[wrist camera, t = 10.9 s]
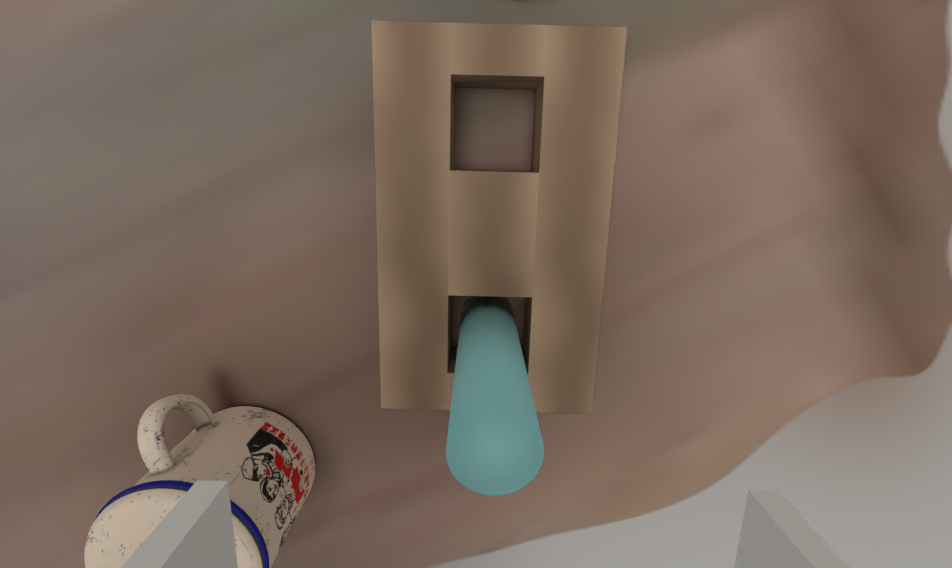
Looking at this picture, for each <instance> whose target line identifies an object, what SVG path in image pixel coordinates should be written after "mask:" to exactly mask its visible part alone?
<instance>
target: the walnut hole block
mask: <svg viewBox="0 0 952 568" xmlns="http://www.w3.org/2000/svg"><path fill="white" fill-rule="evenodd" d="M371 24H372V65H373V105H374V146H375V187H376V228H377V268H378V309H379V350H380V390H381V408H385V409H424V410H450V409H451V400H452V391H453V383H454V374H455V365H456V357H457V348H458V347H451V344H452V295H454V296H493V297H525V301H524V321H523V341H522V354H523V358H524V362H525V366H526V371H527V375H528V379H529V384H530V388H531V392H532V396H533V401H534V405H535V409H536V412H538V413H577V414H592V411H593V400H594V389H595V378H596V367H597V356H598V345H599V334H600V323H601V312H602V301H603V290H604V279H605V267H606V256H607V245H608V234H609V223H610V212H611V201H612V190H613V179H614V168H615V157H616V146H617V135H618V124H619V113H620V102H621V90H622V79H623V68H624V57H625V46H626V35H627V27H605V26H565V25H524V24H484V23H444V22H404V21H371ZM455 87H462V88H502V89H535V103H534V122H533V142H532V162H531V172H522V171H482V170H454V118H455Z"/></svg>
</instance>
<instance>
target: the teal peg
mask: <svg viewBox="0 0 952 568" xmlns="http://www.w3.org/2000/svg"><path fill="white" fill-rule="evenodd" d="M446 459H447V464H448V466H449V469H450V471H451V473H452V474H453V476H454V477H455V478H456V479H457V480H458V481H459V482H460V483H461V484H462V485H463V486H465V487H466V488H468V489H470V490H472V491H474V492H477V493H480V494H484V495H492V496H497V495H506V494H510V493H513V492H515V491H518V490H520V489H522V488H523V487H525V486H526V485H528V484H529V483H530V482H531V481H532V480H533V479H534V478H535V477H536V475H537V474H538V472H539V470H540V468H541V466H542V463H543V459H544V444H543V439H542V435H541V431H540V426H539V422H538V418H537V414H536V409H535V405H534V401H533V396H532V392H531V388H530V384H529V379H528V375H527V371H526V366H525V362H524V358H523V354H522V349H521V345H520V341H519V336H518V332H517V328H516V323H515V319H514V315H513V311H512V307H511V304H510V302H509V301H508V299H507V298H506V297H493V296H470V297H469V298H468V299H467V300H466V301H465V303H464V305H463V308H462V314H461V322H460V331H459V340H458V348H457V357H456V365H455V374H454V383H453V391H452V400H451V409H450V417H449V426H448V435H447V443H446Z"/></svg>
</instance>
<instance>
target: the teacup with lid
mask: <svg viewBox="0 0 952 568" xmlns="http://www.w3.org/2000/svg"><path fill="white" fill-rule="evenodd" d="M173 408H174V409H178V410H180V411H182V412H184V413H185V414H186V415H187V416H188V417H189V419H190V420H191V422H192V424H193V425H194V427H195V429H194V430H193V431H192V432H191V433H190V434H189V435H187V436H186V437H185V438H184V439H183V440H182V441H181V442H180V443H179V444H178V445H177V446H176V447H174V448H173V449H172V450H171V451H170V452H169V450H168V448H167V446H166V443H165V439H164V422H165V419H166V416H167V415H168V413H169V412H170V411H171V410H172V409H173ZM137 441H138V447H139V451H140V454H141V456H142V459H143V461H144V463H145V465H146V466H147V468H148V470H149V471H148V472H147V473H146V474H145V475H144V476H143V477H142V478H141V479H140V480H139V481H138V482H137V483H135V484H134V485H133V486H132V487H130V488H128V489H126V490H124V491H122V492H121V493H119V494H118V495H116V496H115V497H113V498H112V499H111V500H110V501H109V502H108V503H107V504H106V505H105V506H104V507H103V508H102V509H101V510H100V512H99V513H98V515H97V516H96V518H95V520H94V522H93V524H92V526H91V528H90V530H89V533H88V536H87V540H86V544H85V552H84V559H85V567H86V568H121V567H122V566H123V565H124V564H125V562H126V561H127V560H128V559H129V558H130V557H131V556H132V554H133V553H134V552H135V551H136V550H137V549H138V548H139V546H140V545H141V544H142V543H143V542H144V541H145V539H146V538H147V537H148V536H149V535H150V534H151V533H152V531H153V530H154V529H155V528H156V527H157V526H158V525H159V523H160V522H161V521H162V520H163V519H164V518H165V517H166V515H167V514H168V513H169V512H170V511H171V510H172V509H173V507H174V506H175V505H176V504H177V503H178V502H179V501H180V499H181V498H182V497H183V496H184V495H185V494H186V493H187V491H188V490H189V489H190V488H191V487H192V486H193V485H194V483H195V482H196V481H197V480H203V481H228V486H229V495H230V504H231V513H232V522H233V531H234V539H235V548H236V557H237V566H238V568H271V566H272V564H273V562H274V560H275V558H276V556H277V554H278V552H279V550H280V549H281V547H282V545H283V543H284V541H285V539H286V537H287V535H288V533H289V531H290V529H291V527H292V525H293V524H294V522H295V520H296V518H297V516H298V514H299V512H300V510H301V508H302V506H303V504H304V502H305V500H306V499H307V497H308V495H309V493H310V491H311V489H312V486H313V483H314V479H315V459H314V455H313V451H312V449H311V446H310V444H309V442H308V441H307V439H306V437H305V436H304V435H303V433H302V432H301V431H300V430H299V429H298V428H297V427H296V426H295V425H294V424H293V423H292V422H290V421H289V420H288V419H286V418H284V417H283V416H281V415H279V414H277V413H275V412H273V411H270V410H267V409H263V408H259V407H251V406H239V407H232V408H227V409H224V410H221V411H219V412H216V413H214V414H212V412H211V410H210V409H209V407H208V406H207V405H206V404H205V403H204V402H203V401H202V400H201V399H199V398H198V397H196V396H193V395H189V394H176V395H171V396H168V397H164V398H162V399H159V400H157V401H156V402H154V403H153V404H151V405H150V406H149V407H148V408H147V409H146V410H145V412H144V413H143V415H142V417H141V419H140V422H139V425H138V432H137Z"/></svg>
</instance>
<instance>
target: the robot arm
mask: <svg viewBox="0 0 952 568" xmlns="http://www.w3.org/2000/svg"><path fill="white" fill-rule="evenodd" d="M121 568H238V566H237V557H236V548H235V539H234V531H233V522H232V513H231V504H230V495H229V486H228V481H203V480H197V481H196V482H195V483H194V485H193V486H192V487H191V488H190V489H189V490H188V491H187V493H186V494H185V495H184V496H183V497H182V498H181V499H180V501H179V502H178V503H177V504H176V505H175V506H174V507H173V509H172V510H171V511H170V512H169V513H168V514H167V515H166V517H165V518H164V519H163V520H162V521H161V522H160V523H159V525H158V526H157V527H156V528H155V529H154V530H153V531H152V533H151V534H150V535H149V536H148V537H147V538H146V539H145V541H144V542H143V543H142V544H141V545H140V546H139V548H138V549H137V550H136V551H135V552H134V553H133V554H132V556H131V557H130V558H129V559H128V560H127V561H126V562H125V564H124V565H123V566H122V567H121ZM734 568H851V567H850V566H849V565H848V564H847V563H846V562H845V561H844V560H843V559H842V558H841V557H840V555H839V554H838V553H837V552H836V551H835V550H834V549H833V548H832V547H831V546H830V545H829V544H828V543H827V542H826V540H825V539H823V537H822V536H821V535H820V534H819V533H818V532H817V531H816V530H815V529H814V528H813V527H812V526H811V525H810V523H809V522H808V521H807V520H806V519H805V518H804V517H803V516H802V515H801V514H800V513H799V512H798V511H797V510H796V509H795V507H794V506H793V505H792V504H791V503H790V502H789V501H788V500H787V499H786V498H785V497H784V496H783V495H782V494H781V493H780V492H779V491H777V490H748V495H747V501H746V506H745V512H744V518H743V523H742V529H741V534H740V539H739V544H738V550H737V555H736V561H735V566H734Z"/></svg>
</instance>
